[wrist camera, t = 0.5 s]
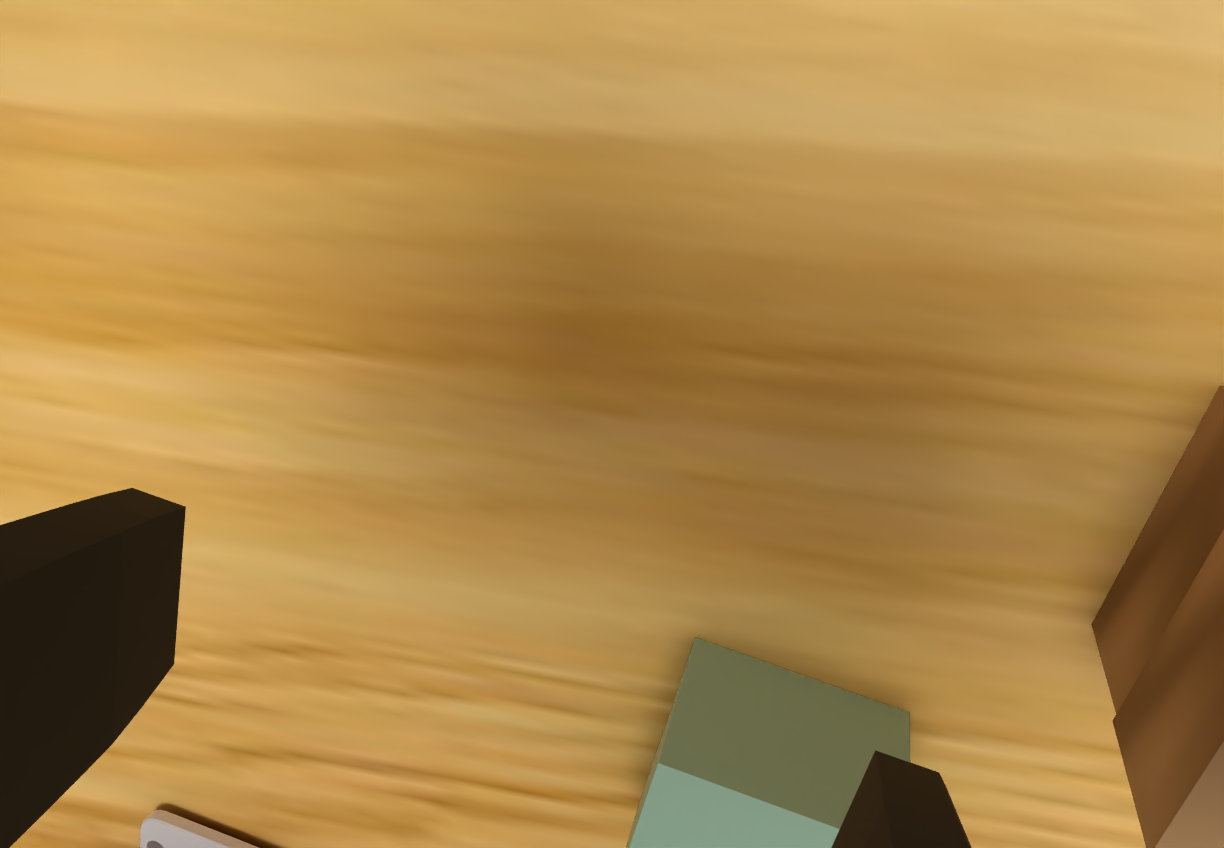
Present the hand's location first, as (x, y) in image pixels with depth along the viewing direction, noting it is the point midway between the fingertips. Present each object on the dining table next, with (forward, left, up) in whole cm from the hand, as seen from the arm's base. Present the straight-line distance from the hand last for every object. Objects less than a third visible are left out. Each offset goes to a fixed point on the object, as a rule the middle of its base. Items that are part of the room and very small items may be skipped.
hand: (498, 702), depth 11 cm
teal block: (-8, -4, -10) cm, 14 cm away
